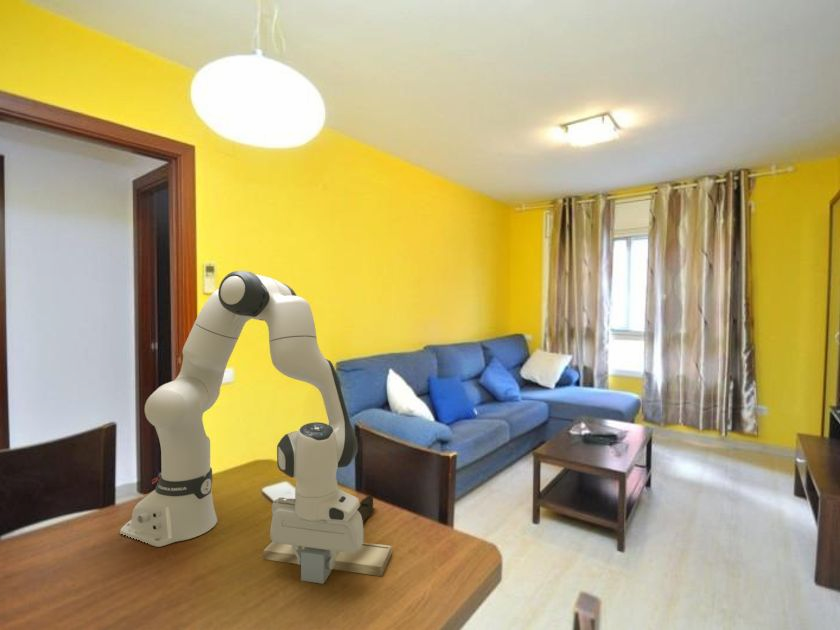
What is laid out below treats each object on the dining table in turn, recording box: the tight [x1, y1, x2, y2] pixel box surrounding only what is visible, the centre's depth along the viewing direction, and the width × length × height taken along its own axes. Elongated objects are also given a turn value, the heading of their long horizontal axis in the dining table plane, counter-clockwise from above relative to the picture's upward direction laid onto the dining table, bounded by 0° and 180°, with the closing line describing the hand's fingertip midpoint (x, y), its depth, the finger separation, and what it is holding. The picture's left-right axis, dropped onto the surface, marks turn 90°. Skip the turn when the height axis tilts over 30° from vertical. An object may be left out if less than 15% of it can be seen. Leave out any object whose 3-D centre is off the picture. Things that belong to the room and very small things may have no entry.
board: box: [263, 540, 393, 577], centre depth 97 cm, size 28×8×2 cm, turn 79°
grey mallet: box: [300, 547, 332, 585], centre depth 93 cm, size 5×12×6 cm, turn 169°
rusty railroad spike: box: [357, 495, 374, 523], centre depth 111 cm, size 19×4×5 cm, turn 161°
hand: (316, 565), depth 90 cm, fingers closed on grey mallet, 5 cm apart
